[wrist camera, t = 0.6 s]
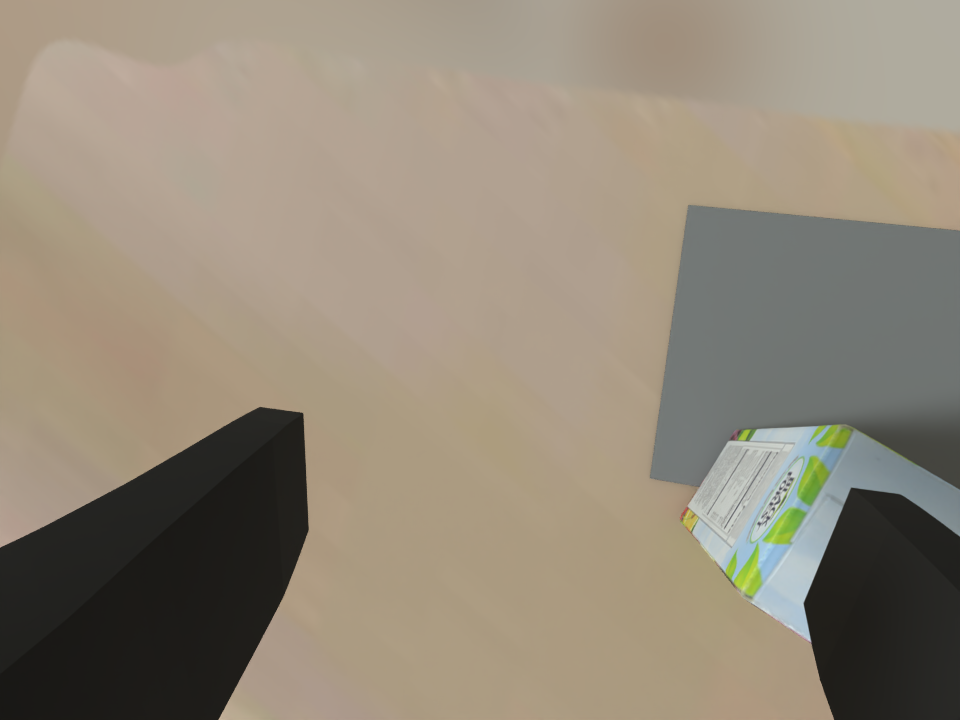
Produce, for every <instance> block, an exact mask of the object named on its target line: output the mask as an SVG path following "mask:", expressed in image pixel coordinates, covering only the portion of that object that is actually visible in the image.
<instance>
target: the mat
mask: <svg viewBox="0 0 960 720" xmlns="http://www.w3.org/2000/svg"><path fill="white" fill-rule="evenodd" d="M839 424H846V425H848V426H851V427H853V428H855V429H857V430H859V431H860V432H862V433H864V434H866V435H867V436H869V437H871V438H873V439H874V440H876V441H878V442H880V443H881V444H883V445H885V446H886V447H888V448H890V449H892V450H893V451H895V452H897V453H898V454H900V455H902V456H903V457H905V458H907V459H908V460H910V461H912V462H913V463H915V464H917V465H919V466H920V467H922V468H924V469H925V470H927V471H929V472H930V473H932V474H934V475H935V476H937V477H939V478H941V479H942V480H944V481H946V482H947V483H949V484H951V485H953V486H954V487H956V488H958V489H959V490H960V231H957V230H946V229H936V228H925V227H915V226H904V225H894V224H883V223H873V222H862V221H852V220H841V219H830V218H820V217H809V216H799V215H788V214H778V213H767V212H757V211H746V210H736V209H725V208H715V207H704V206H693V205H689V206H688V211H687V219H686V226H685V233H684V240H683V247H682V254H681V261H680V268H679V275H678V282H677V290H676V297H675V304H674V311H673V318H672V325H671V332H670V339H669V346H668V353H667V360H666V368H665V375H664V382H663V389H662V396H661V403H660V410H659V417H658V424H657V431H656V439H655V446H654V453H653V460H652V467H651V474H650V478H651V479H657V480H663V481H669V482H675V483H680V484H686V485H692V486H698V487H700V485H701V484H702V482H703V480H704V479H705V477H706V476H707V474H708V473H709V471H710V469H711V468H712V466H713V465H714V463H715V462H716V460H717V458H718V457H719V455H720V454H721V452H722V450H723V449H724V447H725V446H726V444H727V443H728V441H729V439H730V437H731V436H732V434H733V432H734V431H735V430H736V429H739V430H742V429H744V430H746V429H767V428H791V427H810V426H824V425H839Z"/></svg>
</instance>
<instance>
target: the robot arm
mask: <svg viewBox="0 0 960 720" xmlns="http://www.w3.org/2000/svg"><path fill="white" fill-rule="evenodd" d="M308 530H309V527H308V505H307V484H306V462H305V440H304V419H303V413H300V412H292V411H285V410H278V409H270V408H263V407H259V408H257V409H255V410H253V411H251V412H249V413H247V414H245V415H244V416H242V417H240V418H238V419H236V420H235V421H233V422H231V423H229V424H228V425H226V426H224V427H223V428H221V429H219V430H217V431H216V432H214V433H212V434H211V435H209V436H207V437H206V438H204V439H202V440H200V441H199V442H197V443H195V444H194V445H192V446H190V447H189V448H187V449H185V450H184V451H182V452H180V453H178V454H177V455H175V456H173V457H171V458H170V459H168V460H166V461H164V462H163V463H161V464H159V465H158V466H156V467H154V468H152V469H151V470H149V471H147V472H145V473H144V474H142V475H140V476H138V477H137V478H135V479H133V480H131V481H130V482H128V483H126V484H124V485H122V486H120V487H119V488H117V489H115V490H113V491H111V492H109V493H107V494H105V495H103V496H101V497H100V498H98V499H96V500H94V501H92V502H90V503H88V504H86V505H84V506H82V507H81V508H79V509H77V510H75V511H73V512H71V513H69V514H67V515H65V516H63V517H62V518H60V519H58V520H56V521H54V522H52V523H50V524H48V525H46V526H44V527H42V528H40V529H38V530H36V531H34V532H32V533H30V534H28V535H26V536H24V537H22V538H20V539H18V540H16V541H13V542H11V543H9V544H7V545H5V546H3V547H1V548H0V720H218V719H219V718H220V716H221V714H222V712H223V710H224V708H225V706H226V705H227V703H228V701H229V699H230V697H231V695H232V693H233V691H234V690H235V688H236V686H237V684H238V682H239V680H240V678H241V676H242V675H243V673H244V671H245V669H246V667H247V665H248V663H249V661H250V660H251V658H252V656H253V654H254V652H255V650H256V648H257V646H258V645H259V643H260V641H261V639H262V637H263V635H264V633H265V631H266V629H267V627H268V625H269V624H270V622H271V620H272V618H273V616H274V614H275V612H276V610H277V608H278V606H279V604H280V602H281V600H282V598H283V596H284V594H285V592H286V589H287V586H288V584H289V581H290V579H291V576H292V574H293V571H294V569H295V566H296V563H297V561H298V558H299V555H300V552H301V550H302V547H303V544H304V541H305V539H306V536H307V533H308ZM803 604H804V609H805V614H806V619H807V624H808V629H809V634H810V639H811V643H812V648H813V652H814V656H815V660H816V664H817V669H818V673H819V677H820V681H821V683H822V686H823V689H824V692H825V695H826V698H827V701H828V704H829V706H830V709H831V712H832V715H833V717H834V720H960V536H958V535H957V534H956V533H955V532H953V531H952V530H951V529H949V528H948V527H947V526H945V525H944V524H943V523H941V522H940V521H939V520H937V519H936V518H935V517H933V516H932V515H930V514H929V513H928V512H926V511H925V510H923V509H922V508H921V507H919V506H918V505H916V504H915V503H913V502H912V501H910V500H909V499H907V498H906V497H904V496H903V495H901V494H896V493H888V492H881V491H874V490H866V489H859V488H852V487H851V489H850V491H849V494H848V496H847V498H846V501H845V503H844V506H843V508H842V511H841V513H840V515H839V518H838V520H837V523H836V525H835V528H834V530H833V533H832V535H831V537H830V540H829V542H828V545H827V547H826V550H825V552H824V554H823V557H822V559H821V562H820V564H819V567H818V569H817V571H816V574H815V576H814V579H813V581H812V584H811V586H810V588H809V591H808V593H807V596H806V598H805V601H804V603H803Z"/></svg>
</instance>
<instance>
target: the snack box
mask: <svg viewBox="0 0 960 720" xmlns="http://www.w3.org/2000/svg"><path fill="white" fill-rule="evenodd" d="M851 487H852V488H859V489H866V490H874V491H881V492H888V493H896V494H901V495H903V496H904V497H906V498H907V499H909V500H910V501H912V502H913V503H915V504H916V505H918V506H919V507H921V508H922V509H923V510H925V511H926V512H928V513H929V514H930V515H932V516H933V517H935V518H936V519H937V520H939V521H940V522H941V523H943V524H944V525H945V526H947V527H948V528H949V529H951V530H952V531H953V532H955V533H956V534H957V535H958V536H960V490H959V489H958V488H956V487H954V486H953V485H951V484H949V483H947V482H946V481H944V480H942V479H941V478H939V477H937V476H935V475H934V474H932V473H930V472H929V471H927V470H925V469H924V468H922V467H920V466H919V465H917V464H915V463H913V462H912V461H910V460H908V459H907V458H905V457H903V456H902V455H900V454H898V453H897V452H895V451H893V450H892V449H890V448H888V447H886V446H885V445H883V444H881V443H880V442H878V441H876V440H874V439H873V438H871V437H869V436H867V435H866V434H864V433H862V432H860V431H859V430H857V429H855V428H853V427H851V426H848V425H846V424H839V425H824V426H810V427H791V428H767V429H746V430H744V429H742V430H739V429H736V430H735V431H734V432H733V434H732V436H731V437H730V439H729V441H728V443H727V444H726V446H725V447H724V449H723V450H722V452H721V454H720V455H719V457H718V458H717V460H716V462H715V463H714V465H713V466H712V468H711V469H710V471H709V473H708V474H707V476H706V477H705V479H704V480H703V482H702V484H701V485H700V487H699V488H698V490H697V491H696V493H695V495H694V496H693V498H692V499H691V501H690V502H689V504H688V505H687V507H686V509H685V510H684V512H683V513H682V515H681V517H680V522H681V523H682V524H683V525H684V526H685V527H686V528H687V529H688V531H689V532H690V533H691V534H692V535H693V536H694V538H695V539H696V540H697V541H698V542H699V543H700V545H701V546H702V547H703V548H704V550H705V551H706V552H707V553H708V555H709V556H710V557H711V558H712V559H713V561H714V562H715V563H716V564H717V566H718V567H719V568H720V569H721V570H722V572H723V573H724V574H725V576H726V577H727V578H728V579H729V581H730V582H731V583H732V585H733V586H734V587H735V589H736V590H737V591H738V592H739V594H740V595H741V596H742V597H743V598H744V599H745V600H747V601H748V602H750V603H751V604H753V605H754V606H756V607H757V608H759V609H760V610H762V611H763V612H765V613H766V614H768V615H769V616H771V617H772V618H774V619H775V620H777V621H778V622H780V623H781V624H783V625H784V626H786V627H787V628H789V629H790V630H792V631H793V632H795V633H796V634H798V635H799V636H801V637H802V638H803V639H805V640H806V641H808V642H809V643H811V639H810V634H809V629H808V624H807V619H806V614H805V609H804V604H803V603H804V601H805V598H806V596H807V593H808V591H809V588H810V586H811V584H812V581H813V579H814V576H815V574H816V571H817V569H818V567H819V564H820V562H821V559H822V557H823V554H824V552H825V550H826V547H827V545H828V542H829V540H830V537H831V535H832V533H833V530H834V528H835V525H836V523H837V520H838V518H839V515H840V513H841V511H842V508H843V506H844V503H845V501H846V498H847V496H848V494H849V491H850V489H851ZM811 644H812V643H811Z"/></svg>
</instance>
